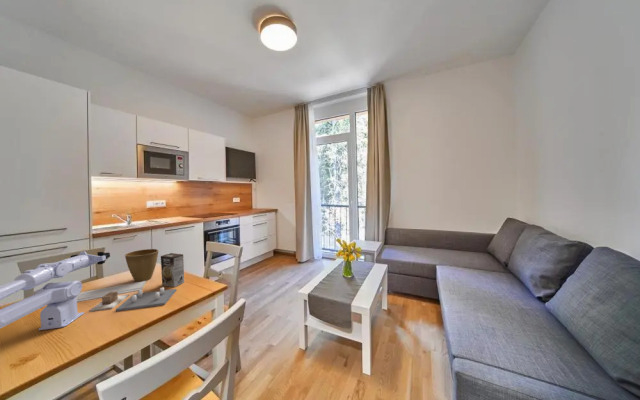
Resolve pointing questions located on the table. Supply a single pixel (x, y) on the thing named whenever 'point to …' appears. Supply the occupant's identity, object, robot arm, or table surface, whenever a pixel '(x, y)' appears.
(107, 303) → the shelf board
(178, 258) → the coffee box
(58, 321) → the robot arm
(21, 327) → the table surface
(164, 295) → the peg stand
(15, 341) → the table surface
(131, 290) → the baseboard molding
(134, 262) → the plant pot
